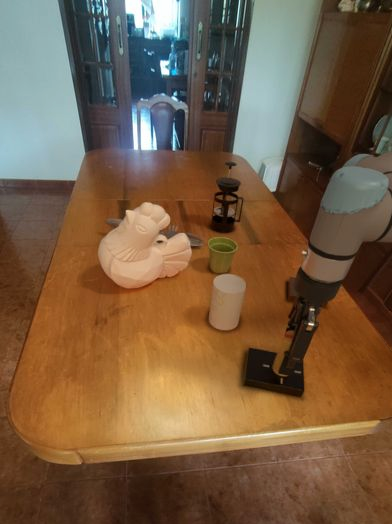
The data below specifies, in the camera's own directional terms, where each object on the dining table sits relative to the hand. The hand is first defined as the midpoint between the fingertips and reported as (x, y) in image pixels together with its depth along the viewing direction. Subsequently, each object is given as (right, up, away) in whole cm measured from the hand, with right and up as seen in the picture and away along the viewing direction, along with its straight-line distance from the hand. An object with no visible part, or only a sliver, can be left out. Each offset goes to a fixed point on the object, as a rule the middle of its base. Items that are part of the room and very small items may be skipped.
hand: (284, 361), depth 70 cm
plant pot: (-12, +29, +34) cm, 46 cm away
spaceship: (-35, +41, +43) cm, 69 cm away
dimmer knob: (0, -2, +2) cm, 3 cm away
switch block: (+14, +19, +27) cm, 36 cm away
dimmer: (-2, -3, +4) cm, 5 cm away
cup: (-12, +10, +16) cm, 23 cm away
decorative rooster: (-34, +23, +26) cm, 49 cm away
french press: (-9, +50, +55) cm, 75 cm away
